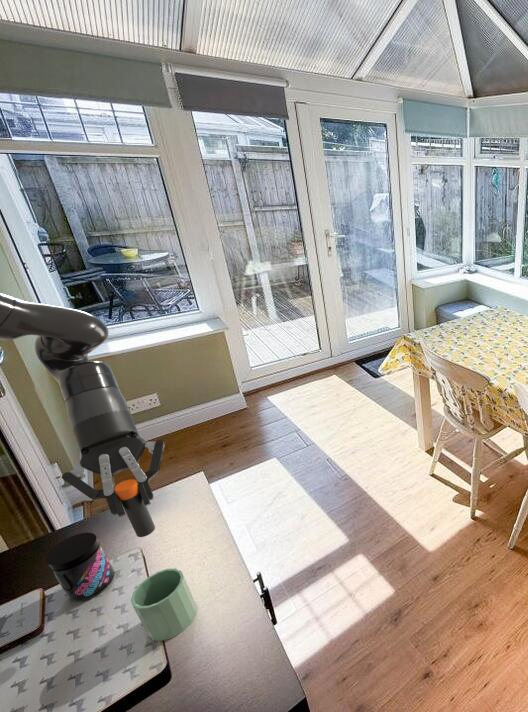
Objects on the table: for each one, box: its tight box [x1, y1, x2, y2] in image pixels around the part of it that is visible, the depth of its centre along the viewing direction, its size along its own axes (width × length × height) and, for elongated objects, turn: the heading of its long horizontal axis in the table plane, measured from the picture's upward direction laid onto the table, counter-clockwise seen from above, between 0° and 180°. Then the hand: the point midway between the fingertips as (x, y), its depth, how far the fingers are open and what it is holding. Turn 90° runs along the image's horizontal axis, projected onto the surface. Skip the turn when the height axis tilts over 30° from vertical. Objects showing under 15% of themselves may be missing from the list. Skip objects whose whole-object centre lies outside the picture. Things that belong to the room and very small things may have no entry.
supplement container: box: [44, 532, 116, 602], centre depth 77 cm, size 7×7×10 cm
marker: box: [114, 478, 156, 538], centre depth 72 cm, size 3×3×11 cm
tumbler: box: [130, 567, 198, 642], centre depth 72 cm, size 7×7×9 cm
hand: (135, 509), depth 70 cm, fingers closed on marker, 2 cm apart
